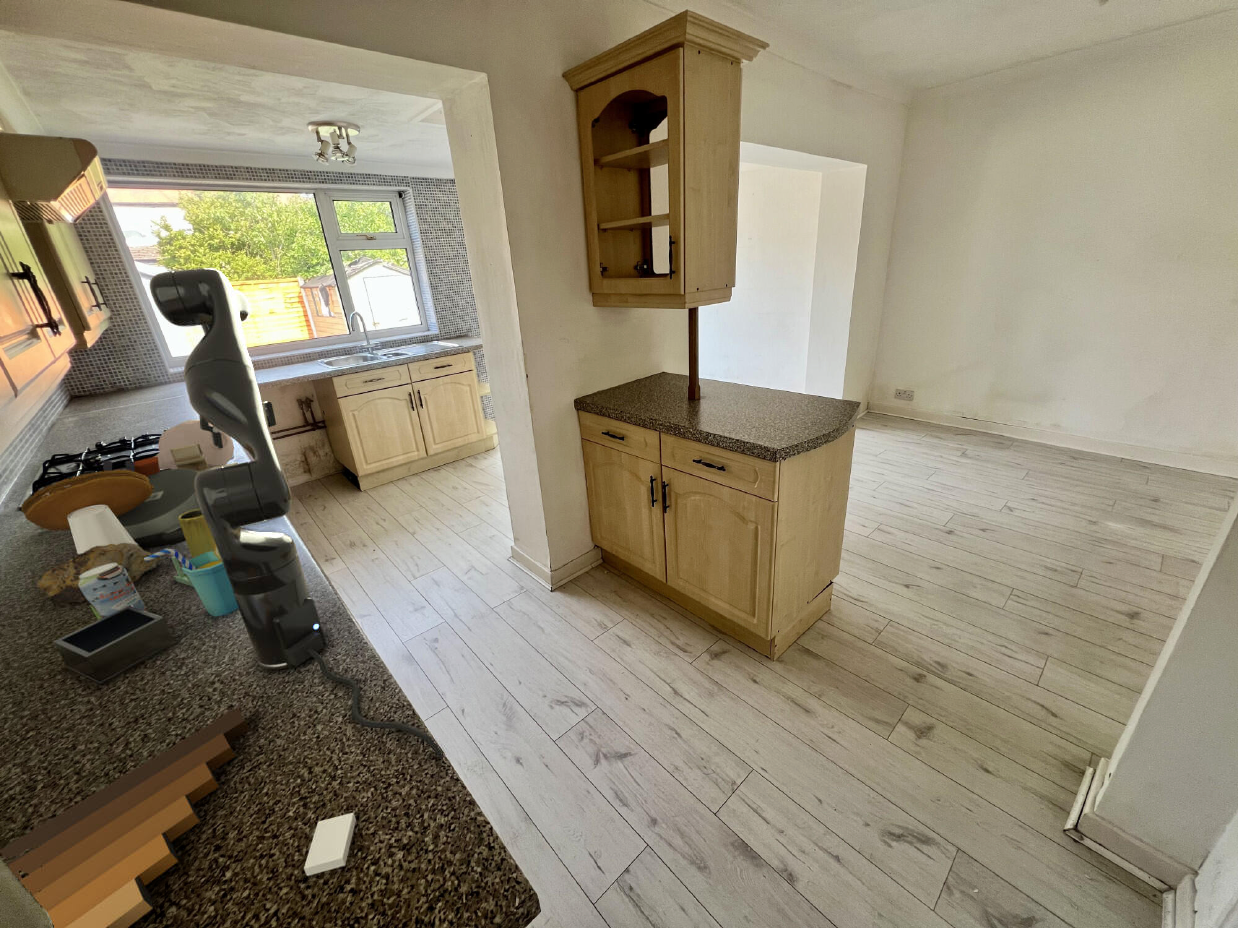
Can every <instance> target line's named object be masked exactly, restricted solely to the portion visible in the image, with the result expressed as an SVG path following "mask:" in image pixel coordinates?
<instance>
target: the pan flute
mask: <svg viewBox="0 0 1238 928" xmlns="http://www.w3.org/2000/svg"><path fill="white" fill-rule="evenodd" d="M249 731H251V728H250V726H249V724H248V723H247V721H246V719H245V717H244V715H243V714H242V712H241V711H240V708H239V707H236V708H235V709H233V710H230V711H229V712H227V713H225V714H224V715H222V716H221V717H219V718H218V719H216V720H214V721H212V722H211V723H209V724H208V725H205V726H204V727H202V728H201V729H199V730H198V731H196V732H194V733H193V734H191V735H189V736H188V737H186V738H184V739H183V740H181V741H179V742H178V743H176V744H174V745H173V746H171V747H169V748H167V749H166V750H164V751H162V752H161V753H159V754H158V755H156V756H154V757H152V758H151V759H149V760H148V761H146V762H144V763H142V764H141V765H139V766H137V767H136V768H134V769H133V770H131V771H129V772H128V773H126V774H124V775H122V776H121V777H119V778H117V779H116V780H114V781H113V782H111V783H110V784H108V785H106V786H104V787H103V788H101V789H99V790H98V791H96V792H94V793H92V794H91V795H89V796H88V797H86V798H85V799H83V800H81V801H79V802H78V803H76V804H75V805H72V806H71V807H69V808H68V809H66V810H64V811H63V812H61V813H60V814H58V815H56V816H54V817H53V818H51V819H50V820H48V821H46V822H44V823H43V824H41V825H39V826H38V827H36V828H34V829H33V830H31V831H29V832H28V833H26V834H24V835H22V836H21V837H19V838H18V839H16V840H15V841H13V842H11V843H10V844H8V845H6V846H4V847H3V848H1V849H0V853H2V856H0V857H2V858H4V857H5V858H7V857H14V856H17V855H18V856H19V855H20V854H21V853H23V851H24V850H25V849H31V848H30V847H34V846H35V847H36V846H38V845H39V847H37V848H35V849H33V850H31V851H29V852H27V853H25V854H23V855H21V856H19V857H18V856H17V858H15V859H13V860H11V861H9V860H8V858H7V860H8V862H6V860H5V858H4V860H5V863H6V864H7V866H9V868H10V870H11V871H12V873H13V874H14V875H15V876H17V878H18V879H19V880H20V882H21V883H22V884H23V885H24V886H25V888H26V889H28V891H30V892H31V894H32V895H33V896H34V897H35V899H36V900H37V901H38V902H39V904H40V905H41V906H42V907H43V909H45V910H46V911H47V912H48V914H49V916H50V917H51V920H52V923H53V925H54V928H129V927H131V925H133V924H134V923H136V922H138V920H140V919H141V918H142V917H143V916H145V915H146V914H148V912H150V911H151V910H153V909H154V907H153V902H152V898H151V893H150V891H149V889H148V888H147V887H146V886H147V885H149V884H150V883H151V882H152V881H154V880H155V879H157V878H158V877H159V876H161V875H162V874H163V873H165V872H166V871H168V869H170V868H172V867H173V866H174V865H175V864H177V863H178V862H179V859H178V854H177V852H176V848H175V846H174V844H173V843H172V842H173V841H174V840H176V839H177V838H179V837H180V836H182V835H183V834H184V833H186V832H187V831H189V830H190V829H192V828H193V827H194V826H196V825H197V824H199V823H200V822H201V819H200V816H199V813H198V811H197V808H196V807H195V806H194V805H195V803H196V804H197V802H199V801H200V800H201V799H203V798H204V797H206V796H207V795H209V794H210V793H212V792H213V791H215V790H216V789H218V788H219V787H220V785H219V783H218V780H217V778H216V776H215V774H214V773H213V772H214V771H216V769H219V768H220V767H221V766H223V765H225V764H226V763H228V762H229V761H232V759H234V758H235V757H236V753H235V752H234V750H233V748H232V747H231V745H230V743H232V742H233V741H234V740H236V739H237V738H239V737H240V736H242V735H244V734H245V733H247V732H249ZM40 845H41V846H40ZM41 866H42V867H41ZM21 870H22V871H23V872H24V873H28V874H29V875H28V876H26V877H24V878H22V877H21V876H20V873H19V871H21ZM40 890H41V891H40ZM39 891H40V892H39Z"/></svg>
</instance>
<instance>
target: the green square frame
mask: <svg viewBox="0 0 1238 928" xmlns="http://www.w3.org/2000/svg"><path fill="white" fill-rule="evenodd" d="M171 560H172V563H173V565H174V568H175V570H176V573H177V574H176V575H174V576H173V577H174V580H175V582H178V583H181V584H183V585H187V586H190V587H193V588H194V586H193V584H192V582H191V580H190V578H189V577H188V575H187V574H186V573H184V572H183V570H182V568H183V567H184V564H183V563H181V562H180V563H179V560H178V559H177V558H176V557H175V556H174V557H172V556H171ZM180 564H181V566H182V567H181V566H180Z"/></svg>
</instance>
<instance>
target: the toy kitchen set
mask: <svg viewBox="0 0 1238 928" xmlns="http://www.w3.org/2000/svg"><path fill="white" fill-rule="evenodd" d="M170 451H171V454H172V456H173V458H174V461H175V465H176V466H177V468H178V469H191V470H194V471H196V472H198V473H199V472H201V471H204V470H208V469H213V468H218V467H224V466H229V465H234V464H239V462H233V463H227V464H226V465H223V466H218V467H213V468H209V467H208V465H207V462H206V460H205V457H204V454H203V452H202V449H201V447H200V444H199V443H198V444H193V445H187V446H182V447H177V448H172V449H170Z"/></svg>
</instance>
